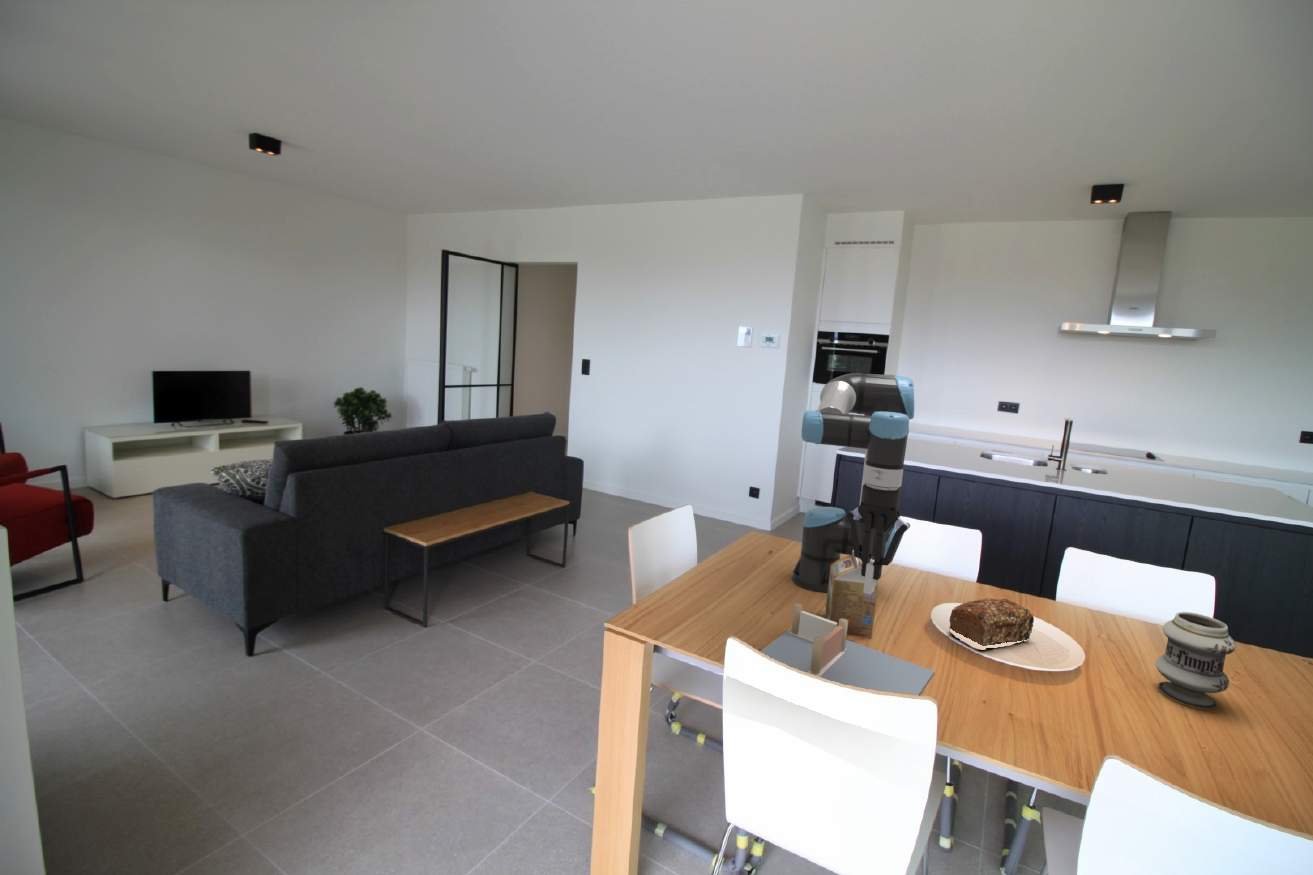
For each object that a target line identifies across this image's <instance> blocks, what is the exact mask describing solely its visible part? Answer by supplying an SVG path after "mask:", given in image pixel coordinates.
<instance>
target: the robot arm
mask: <svg viewBox="0 0 1313 875" xmlns="http://www.w3.org/2000/svg"><path fill="white" fill-rule="evenodd" d="M819 400H820V403H819V406H818V408H817V409H815V410H806V411H805V412H804V414H803V417H802V424H801V439H802V441H803V442H805V443H810V444H811V443H812V444H815V445H827V446H833V447H834V446H838V447H847V448H852V449H853V448H854V449H855V448H856V449H864V450H865V455H864V463H863V471H862V480H861V488H860V497H859V503H858V504H859V505H858V506H857V507H855V509H853V510H850V511H849V512H847V513H846V511H845V510H844V509H843V508H839V507H834V506H817V507H813V508H810V509H808V510H807V511H806V512H805V514H804V519H803V520H804V521H803V523H802V526H803V529H802V537H801V538H802V539H801V547H800V548H801V549H800V555H799V558H798V560H797V563H796V564H795V566H794V569H793V571H792V576H791V577H792V581H793V583H794V584H796V585H797V586H799V587H801V588H803V589H806V590H809V591H815V592H819V593H820V592H821V593H828V584H829V575H830V566H831V564H832V563H834V562H835V561H837V560H839V559H841V555H846V556H849V555H852V551H853V550H854V556H855V557H856V558H859V559H860V560H862V569H861V575H862V576H864V577H865V582H864V590H863V593H866V594H869V595H870V594H872V593H873V592H874V590H875V582H876V581H878V580H880V579H881V577H882V571H883V566H889V565H891V564H892V562H893V560H894V559H895V555H896V553H897V551H898V548H899V546H900V543H901V542H902V539H903V536H904V534H905V533H906V532H907V531H908V530H909V528H910V527H911V524H910V523H909V522H906V521H904V520H903V519H902V518H901V514H900V512H899V508H900V507H899V506H900V498H901V491H902V490H901V489H900V487H902V484H903V475H904V466H905V465H904V464H905V458H906V453H907V452H906V451H907V446H908V445H907V443H908V437H909V436H908V435H909V433H910V426H909V425H910V420H913V419H914V417H915V388H914V381H913V380H912V378H911V377H908V376H902V375H896V374H875V373H874V374H873V373H863V372H851V373H846V374H843V375H840V376H837V377H835V378H832V379H830V380H829V381H828V382H827V383H826V384H824V386H823V387H822V389H821V391H820V396H819Z"/></svg>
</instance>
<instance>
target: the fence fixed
mask: <svg viewBox="0 0 1313 875" xmlns="http://www.w3.org/2000/svg"><path fill="white" fill-rule="evenodd" d="M791 621H792V622H791V628H792V629H791V628H790V629H791V633H793V634H798V635H800V636H803V637H805V638H808V639H811V640H814V638H815V637H819V638H822V639H823V638H824V637H825V636H826V635H827V634H829V633H830V632H831V631H832V630H834V629H835V628H836V627H837V624H838V623H837V622H834V621H831V620H828V619H826V617H825V618H824V617H822V616H819V615H817V614H813V613H810V612H807V611H804V610H803V604H801V603H798V602H796V603H794V604H793V609H792V620H791ZM839 626H842V627H843V636H842V644H841V651H845V644H846V640H847V636H848V635H847V628H848V620H847V619H843V618H841V619H839Z"/></svg>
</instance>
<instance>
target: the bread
mask: <svg viewBox="0 0 1313 875" xmlns="http://www.w3.org/2000/svg"><path fill="white" fill-rule="evenodd" d="M950 612H951V613H950V616H949V625H950V626H949V630H950V629H952V630H953V631H955V632H956V633H959V634H961V635H963V636H964V637H966V638H969V639H971V640H972V641H974V642H977V643H978V644H980V645H982V646H987V645H995V644H1001V643H1005V642H1006V643H1007V642H1017V641H1022V640H1023V641H1024V640H1027V639H1030V637H1031V634H1032V633H1033V627H1034V620H1035V618H1034V614H1033V613H1032V612H1031V611H1030V610H1029V609H1028V608H1026V607H1023V606H1022V605H1020V604H1019V603H1016V601H1013V600H1010V599H1007V598H1001V599H1000V598H998V599H996V598H992V597H991V598H990V597H989V598H981V599H976V600H972V601H970V600H969V601H967V602H965V603H964V602H963V603H961V604H959V605H957V606H954V607H953V609H952V610H951V611H950ZM1027 641H1028V640H1027Z"/></svg>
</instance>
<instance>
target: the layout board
mask: <svg viewBox="0 0 1313 875" xmlns="http://www.w3.org/2000/svg"><path fill="white" fill-rule="evenodd" d="M791 629H792V627H791V628H789V629H788V630H786V631H785V632H784V633H782V634H781V635H780V636H778V637H777V638H776V639H775V640H772V641H771V643H769V644H768V645H766V646H765V647H764V648H762V649H760V651H761V652H762V653H764V654H765V655H768V656H769V657H770V658H773V659H775V660H778V661H779V662H782V663H785V664H787V665H788V666H790V667H793V668H797V669H799V670H801V671H804V672H809V673H811V674H813V675H815V676H820V677H822V678H825V679H827V680H830V681H835V682H839V683H841V684H844V685H853V686H856V687H861V688H865V689H874V690H879V691H889V692H893V693H910V694H916V695H919V696H921V694H922V693H923V691H924V689H925V688H926V687H927V685H928V683H929V682H930V681H931V679H932V678H933V677H934V675H935V671H934V670H932V669H930V668H926V667H924V666H921V665H918V664H916V663H912V662H910V661H907V660H904V659H901V658H899V657H896V656H893V655H890V654H887V653H885V652H882V651H880V650H877V649H874V648H871V647H868V646H866V645H863V644H859V643H857V642H854V641H852V640H849V639H846V644H845V651H840V652H839V653H838V654H837V655H836V656H835V657H834V658H833V659H831V660H830V661H829V662H828V663H827V664H826V665H825V666H824V667H823V668H822V669H820V673H818V674H816V673H812V672H811V671H810V668H811V659H812V650H813V641H814V640H811V639H808V638H805V637H803V636H800V635H798V634H793V633H791Z"/></svg>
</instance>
